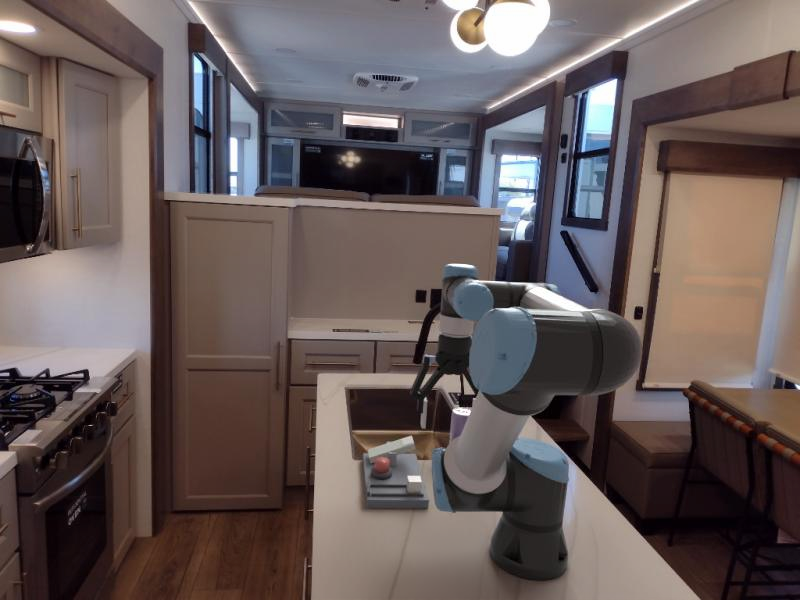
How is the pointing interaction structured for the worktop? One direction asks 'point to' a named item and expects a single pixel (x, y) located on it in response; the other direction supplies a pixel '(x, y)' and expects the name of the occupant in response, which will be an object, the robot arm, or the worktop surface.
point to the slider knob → (414, 484)
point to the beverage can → (458, 421)
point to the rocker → (391, 448)
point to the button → (381, 465)
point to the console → (393, 483)
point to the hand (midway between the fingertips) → (448, 426)
